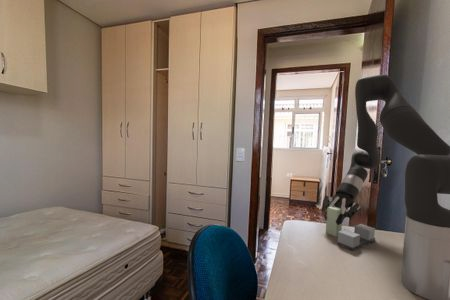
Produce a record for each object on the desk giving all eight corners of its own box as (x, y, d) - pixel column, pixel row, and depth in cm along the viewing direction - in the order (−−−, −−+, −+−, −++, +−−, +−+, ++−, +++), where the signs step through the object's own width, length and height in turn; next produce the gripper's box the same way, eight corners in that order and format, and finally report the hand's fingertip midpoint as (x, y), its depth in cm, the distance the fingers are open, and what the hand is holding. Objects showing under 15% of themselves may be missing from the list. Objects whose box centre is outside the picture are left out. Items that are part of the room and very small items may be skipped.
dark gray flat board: (374, 240, 81) (375, 238, 81) (353, 251, 72) (353, 248, 72) (358, 235, 85) (359, 232, 85) (336, 244, 76) (336, 241, 76)
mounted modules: (374, 237, 81) (375, 228, 81) (352, 247, 72) (353, 237, 72) (359, 232, 85) (360, 223, 85) (337, 241, 76) (338, 231, 76)
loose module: (341, 234, 85) (343, 209, 85) (335, 236, 83) (337, 210, 82) (331, 230, 88) (333, 206, 88) (325, 232, 86) (327, 207, 86)
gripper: (330, 179, 95) (311, 210, 88) (366, 185, 83) (347, 222, 77) (335, 190, 98) (318, 221, 92) (371, 197, 86) (353, 234, 80)
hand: (331, 221), depth 84 cm, fingers closed on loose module, 4 cm apart
